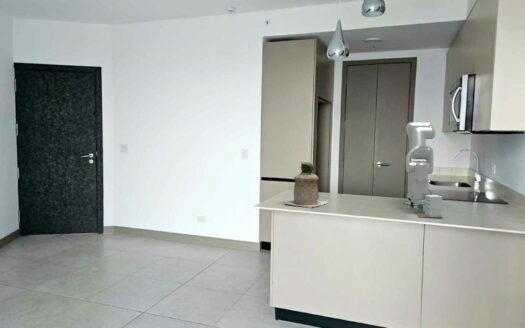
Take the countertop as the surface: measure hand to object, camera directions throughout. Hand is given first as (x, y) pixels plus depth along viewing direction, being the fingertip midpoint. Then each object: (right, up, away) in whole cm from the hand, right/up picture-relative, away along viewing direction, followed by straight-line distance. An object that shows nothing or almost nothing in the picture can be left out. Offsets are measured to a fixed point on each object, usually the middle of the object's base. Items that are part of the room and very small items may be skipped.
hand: (420, 208), depth 239 cm
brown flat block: (+2, -4, -6) cm, 8 cm away
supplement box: (+3, -4, -11) cm, 12 cm away
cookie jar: (-70, -1, +35) cm, 78 cm away
